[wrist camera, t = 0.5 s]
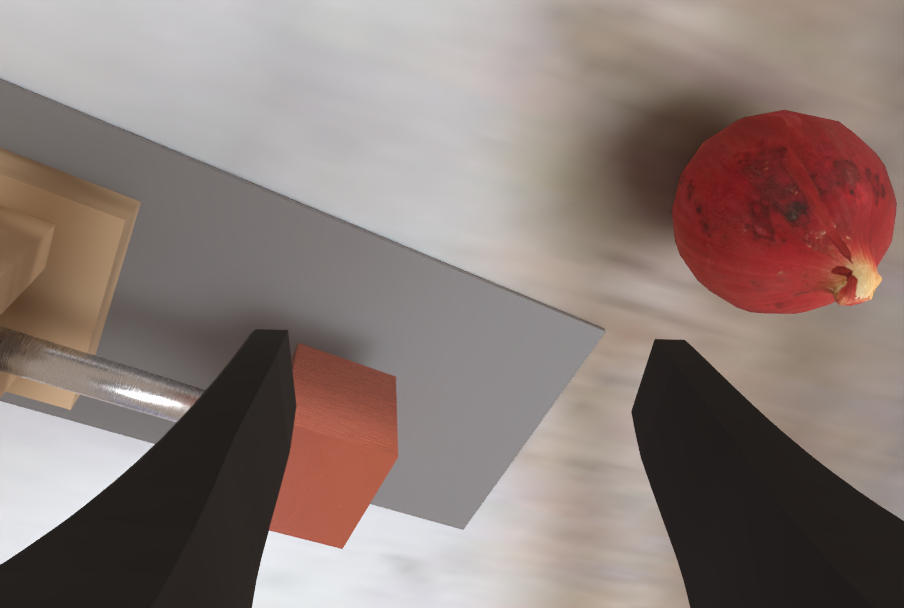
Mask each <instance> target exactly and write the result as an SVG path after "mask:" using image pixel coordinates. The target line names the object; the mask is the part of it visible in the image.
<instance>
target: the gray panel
mask: <svg viewBox="0 0 904 608" xmlns="http://www.w3.org/2000/svg"><path fill="white" fill-rule="evenodd" d="M0 148H3V149H5V150H8V151H10V152H13V153H16V154H18V155H21V156H23V157H26V158H29V159H31V160H34V161H36V162H39V163H42V164H44V165H47V166H49V167H52V168H55V169H57V170H60V171H62V172H65V173H68V174H70V175H73V176H75V177H78V178H80V179H83V180H86V181H88V182H91V183H93V184H96V185H99V186H101V187H104V188H106V189H109V190H112V191H114V192H117V193H119V194H122V195H125V196H127V197H130V198H132V199H135V200H138V201H140V202H141V204H140V207H139V211H138V214H137V217H136V221H135V224H134V227H133V231H132V234H131V237H130V241H129V244H128V248H127V251H126V254H125V258H124V261H123V264H122V268H121V271H120V274H119V278H118V281H117V284H116V288H115V291H114V295H113V298H112V301H111V305H110V308H109V311H108V315H107V318H106V321H105V325H104V328H103V331H102V335H101V338H100V342H99V345H98V348H97V352H96V355H95V356H98V357H101V358H105V359H108V360H111V361H114V362H118V363H121V364H124V365H127V366H130V367H134V368H137V369H140V370H143V371H147V372H150V373H153V374H156V375H159V376H163V377H166V378H169V379H172V380H176V381H179V382H182V383H185V384H189V385H192V386H195V387H198V388H201V389H205V390H206V389H207V388H208V387H209V386H210V384H211V383H212V382H213V381H214V380H215V379H216V377H217V376H218V375H219V374H220V372H221V371H222V370H223V369H224V368H225V366H226V365H227V364H228V363H229V361H230V360H231V359H232V357H233V356H234V355H235V354H236V352H237V351H238V350H239V348H240V347H241V346H242V344H243V343H244V342H245V340H246V339H247V338H248V336H249V335H250V334H251V333H252V332H253V331H254V330H255V329H270V330H288V335H289V344H290V353H291V358H292V356H293V353H294V351H295V349H296V347H297V345H298V343H300V344H303V345H306V346H309V347H312V348H315V349H318V350H321V351H324V352H326V353H329V354H332V355H335V356H338V357H341V358H344V359H347V360H350V361H352V362H355V363H358V364H361V365H364V366H367V367H370V368H373V369H375V370H378V371H381V372H384V373H387V374H390V375H393V376H396V393H397V429H398V458H397V460H396V462H395V463H394V465H393V467H392V468H391V470H390V471H389V473H388V475H387V476H386V478H385V480H384V481H383V483H382V485H381V486H380V488H379V489H378V491H377V493H376V494H375V496H374V498H373V499H372V501H371V503H370V504H373V505H376V506H380V507H384V508H387V509H391V510H394V511H398V512H401V513H405V514H409V515H412V516H416V517H419V518H423V519H427V520H430V521H434V522H437V523H441V524H445V525H448V526H452V527H455V528H459V529H462V530H463V529H464V528H465V527H466V525H467V524H468V522H469V521H470V520H471V518H472V517H473V516H474V514H475V513H476V511H477V510H478V509H479V507H480V506H481V504H482V503H483V502H484V500H485V499H486V497H487V496H488V495H489V493H490V492H491V491H492V489H493V488H494V486H495V485H496V484H497V482H498V481H499V479H500V478H501V477H502V475H503V474H504V472H505V471H506V470H507V468H508V467H509V465H510V464H511V463H512V461H513V460H514V459H515V457H516V456H517V454H518V453H519V452H520V450H521V449H522V447H523V446H524V445H525V443H526V442H527V440H528V439H529V438H530V436H531V435H532V433H533V432H534V431H535V429H536V428H537V427H538V425H539V424H540V422H541V421H542V420H543V418H544V417H545V415H546V414H547V413H548V411H549V410H550V408H551V407H552V406H553V404H554V403H555V401H556V400H557V399H558V397H559V396H560V395H561V393H562V392H563V390H564V389H565V388H566V386H567V385H568V383H569V382H570V381H571V379H572V378H573V376H574V375H575V374H576V372H577V371H578V369H579V368H580V367H581V365H582V364H583V363H584V361H585V360H586V358H587V357H588V356H589V354H590V353H591V351H592V350H593V349H594V347H595V346H596V344H597V343H598V342H599V340H600V339H601V338H602V336H603V335H604V333H605V332H606V331H605V330H604V329H603V328H601V327H598V326H596V325H593V324H591V323H589V322H586V321H584V320H581V319H579V318H577V317H574V316H572V315H569V314H567V313H564V312H562V311H560V310H557V309H555V308H552V307H550V306H548V305H545V304H543V303H540V302H538V301H536V300H533V299H531V298H528V297H526V296H523V295H521V294H519V293H516V292H514V291H511V290H509V289H507V288H504V287H502V286H499V285H497V284H494V283H492V282H490V281H487V280H485V279H482V278H480V277H478V276H475V275H473V274H470V273H468V272H465V271H463V270H461V269H458V268H456V267H453V266H451V265H449V264H446V263H444V262H441V261H439V260H437V259H434V258H432V257H429V256H427V255H424V254H422V253H420V252H417V251H415V250H412V249H410V248H408V247H405V246H403V245H400V244H398V243H395V242H393V241H391V240H388V239H386V238H383V237H381V236H379V235H376V234H374V233H371V232H369V231H366V230H364V229H362V228H359V227H357V226H354V225H352V224H350V223H347V222H345V221H342V220H340V219H338V218H335V217H333V216H330V215H328V214H325V213H323V212H321V211H318V210H316V209H313V208H311V207H309V206H306V205H304V204H301V203H299V202H296V201H294V200H292V199H289V198H287V197H284V196H282V195H280V194H277V193H275V192H272V191H270V190H268V189H265V188H263V187H260V186H258V185H255V184H253V183H251V182H248V181H246V180H243V179H241V178H239V177H236V176H234V175H231V174H229V173H226V172H224V171H222V170H219V169H217V168H214V167H212V166H210V165H207V164H205V163H202V162H200V161H197V160H195V159H193V158H190V157H188V156H185V155H183V154H181V153H178V152H176V151H173V150H171V149H169V148H166V147H164V146H161V145H159V144H156V143H154V142H152V141H149V140H147V139H144V138H142V137H140V136H137V135H135V134H132V133H130V132H127V131H125V130H123V129H120V128H118V127H115V126H113V125H111V124H108V123H106V122H103V121H101V120H99V119H96V118H94V117H91V116H89V115H86V114H84V113H82V112H79V111H77V110H74V109H72V108H70V107H67V106H65V105H62V104H60V103H57V102H55V101H53V100H50V99H48V98H45V97H43V96H41V95H38V94H36V93H33V92H31V91H28V90H26V89H24V88H21V87H19V86H16V85H14V84H12V83H9V82H7V81H4V80H2V79H0ZM0 401H3V402H7V403H10V404H14V405H17V406H21V407H25V408H28V409H32V410H35V411H39V412H43V413H46V414H50V415H53V416H57V417H61V418H64V419H68V420H71V421H75V422H78V423H82V424H86V425H89V426H93V427H96V428H100V429H104V430H107V431H111V432H114V433H118V434H122V435H125V436H129V437H132V438H136V439H139V440H143V441H147V442H150V443H154V444H156V443H157V442H158V441H159V440H160V439H161V438H162V437H163V436H164V435H165V434H166V433H167V432H168V431H169V430H170V429H171V428H172V427H173V426H174V424H175V423H176V422H173V421H170V420H167V419H163V418H160V417H156V416H153V415H149V414H146V413H143V412H139V411H136V410H132V409H129V408H125V407H122V406H119V405H115V404H112V403H108V402H105V401H101V400H98V399H94V398H91V397H88V396H84V395H81V394H80V396H79V397H78V399H77V400H76V402H75V404H74V405H73V407H72V408H71V410H69V409H66V408H62V407H59V406H55V405H51V404H48V403H44V402H41V401H37V400H34V399H30V398H27V397H23V396H20V395H16V394H13V393H9V392H5V393H4V394H3V395H2V397H1V398H0Z"/></svg>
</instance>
